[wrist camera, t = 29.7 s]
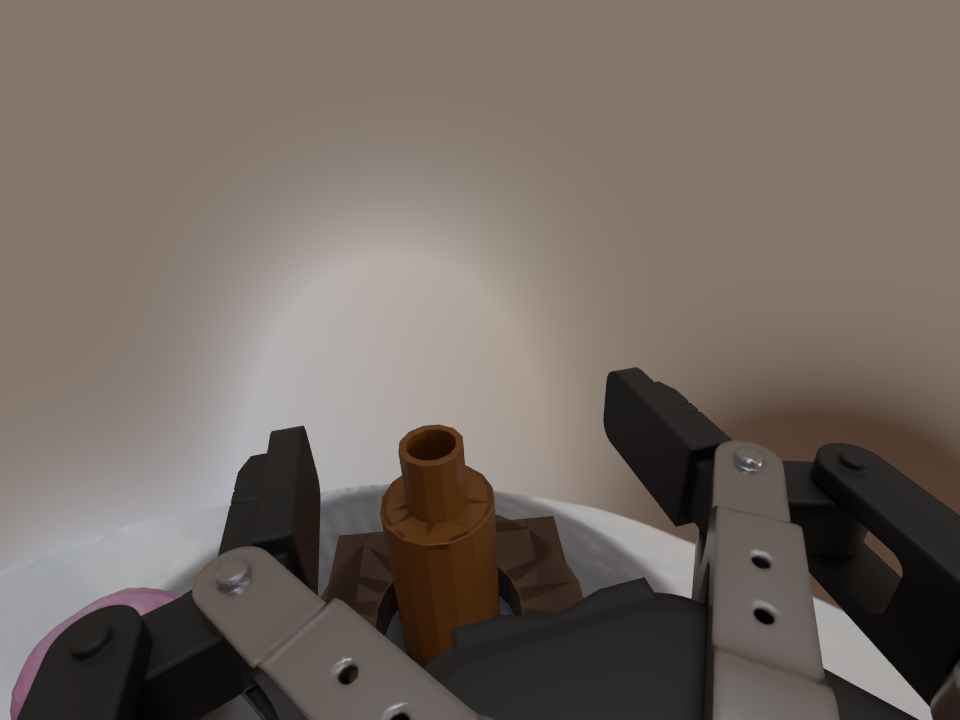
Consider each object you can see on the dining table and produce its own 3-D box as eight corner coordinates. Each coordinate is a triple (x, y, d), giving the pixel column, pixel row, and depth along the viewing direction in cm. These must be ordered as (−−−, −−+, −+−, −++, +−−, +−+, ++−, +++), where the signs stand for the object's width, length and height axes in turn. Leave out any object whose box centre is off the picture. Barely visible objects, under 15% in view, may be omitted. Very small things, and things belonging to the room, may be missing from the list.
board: (287, 818, 27) (273, 792, 26) (341, 546, 43) (335, 521, 42) (622, 781, 28) (627, 753, 27) (555, 527, 44) (556, 501, 42)
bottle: (405, 692, 33) (362, 491, 24) (409, 602, 38) (376, 413, 30) (505, 682, 33) (496, 480, 25) (495, 594, 38) (486, 405, 30)
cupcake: (232, 780, 29) (172, 678, 24) (51, 857, 26) (-58, 760, 22) (237, 639, 36) (192, 540, 31) (95, 689, 34) (22, 589, 29)
